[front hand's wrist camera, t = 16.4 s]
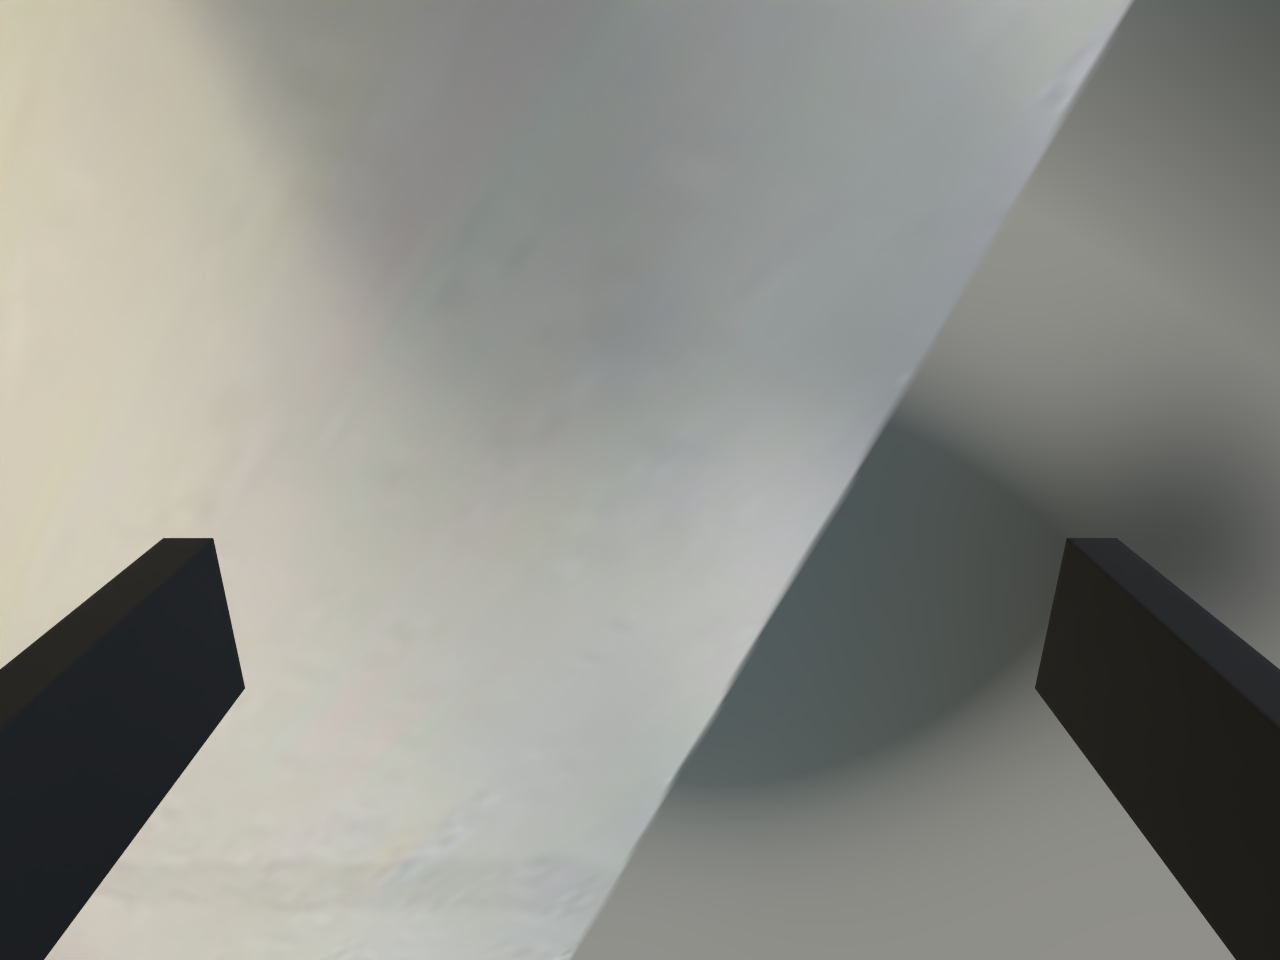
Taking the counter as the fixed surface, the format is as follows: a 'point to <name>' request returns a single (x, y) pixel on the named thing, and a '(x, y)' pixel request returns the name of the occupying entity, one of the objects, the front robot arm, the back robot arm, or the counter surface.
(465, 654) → the counter surface
